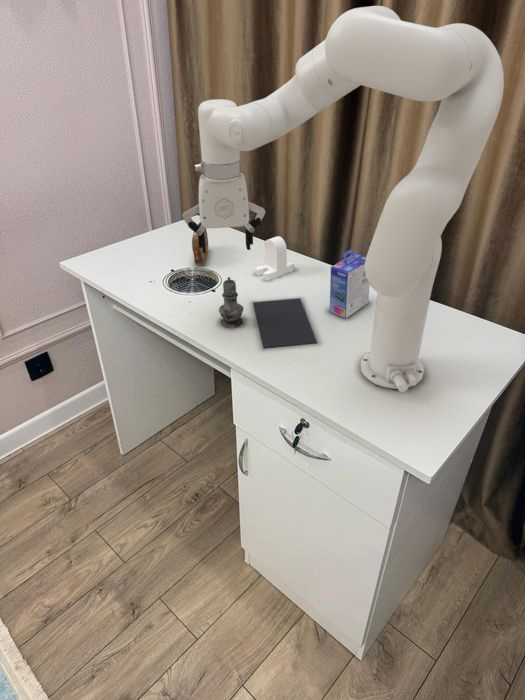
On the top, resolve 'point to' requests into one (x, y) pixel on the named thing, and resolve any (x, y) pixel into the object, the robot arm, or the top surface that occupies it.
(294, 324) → the mat
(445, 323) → the top surface
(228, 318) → the salt shaker
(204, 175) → the robot arm
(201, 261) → the tin
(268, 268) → the cable organizer
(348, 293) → the ink cartridge box
